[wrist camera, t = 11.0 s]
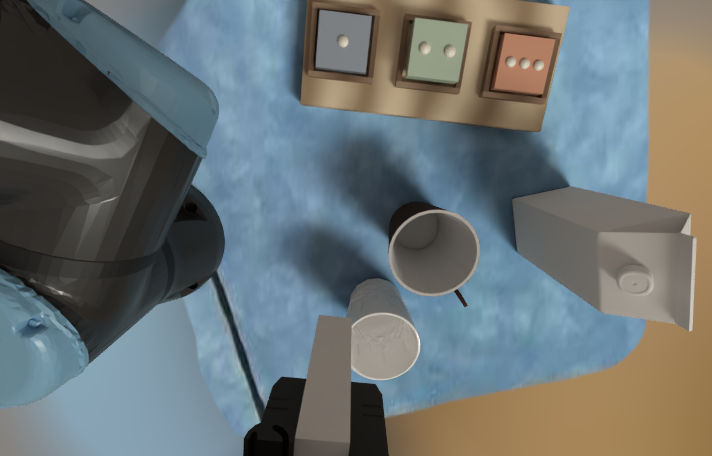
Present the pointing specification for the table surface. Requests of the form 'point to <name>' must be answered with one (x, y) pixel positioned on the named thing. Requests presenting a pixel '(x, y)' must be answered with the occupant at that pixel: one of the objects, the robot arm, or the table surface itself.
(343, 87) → the keypad board
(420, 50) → the key two dots
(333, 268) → the table surface
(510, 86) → the key three dots
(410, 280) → the coffee mug
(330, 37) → the key one dot
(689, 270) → the milk carton
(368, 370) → the white cup
